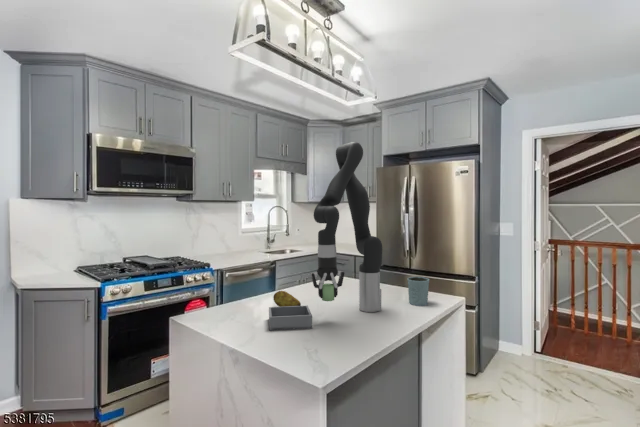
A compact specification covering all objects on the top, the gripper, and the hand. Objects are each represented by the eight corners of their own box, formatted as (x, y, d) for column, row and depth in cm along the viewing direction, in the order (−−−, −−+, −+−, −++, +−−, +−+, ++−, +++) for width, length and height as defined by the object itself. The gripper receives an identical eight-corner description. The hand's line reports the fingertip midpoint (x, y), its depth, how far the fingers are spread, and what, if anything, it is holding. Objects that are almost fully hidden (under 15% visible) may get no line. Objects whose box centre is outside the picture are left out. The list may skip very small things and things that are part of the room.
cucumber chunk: (332, 297, 149) (332, 283, 149) (335, 300, 144) (335, 285, 144) (320, 298, 148) (320, 283, 148) (323, 301, 143) (322, 286, 143)
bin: (307, 317, 151) (307, 305, 151) (312, 328, 137) (312, 315, 137) (269, 319, 148) (268, 307, 148) (269, 330, 135) (269, 317, 135)
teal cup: (427, 301, 177) (427, 276, 177) (431, 306, 167) (431, 281, 167) (405, 300, 178) (406, 276, 178) (408, 306, 168) (409, 280, 168)
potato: (288, 314, 155) (288, 296, 155) (270, 308, 164) (270, 291, 164) (303, 310, 161) (302, 292, 161) (284, 305, 170) (284, 288, 170)
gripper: (342, 253, 150) (343, 294, 151) (308, 255, 148) (309, 296, 148) (346, 255, 143) (347, 298, 143) (311, 257, 140) (311, 301, 141)
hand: (328, 297), depth 146 cm, fingers closed on cucumber chunk, 5 cm apart
